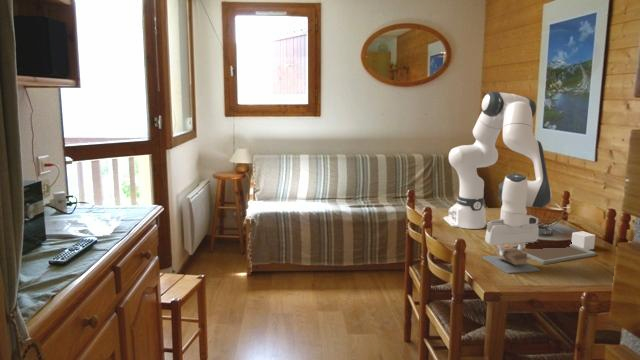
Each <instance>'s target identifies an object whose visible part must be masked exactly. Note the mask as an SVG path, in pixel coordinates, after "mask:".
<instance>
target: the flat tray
mask: <svg viewBox="0 0 640 360" xmlns="http://www.w3.org/2000/svg"><path fill="white" fill-rule="evenodd" d="M510 246H511V247H512V248H515V249H516V248H518V246H519V244H516V245H510ZM569 246H570V247H566V248H543V249H524V248H523V249H522V252H524V253H526V254H527V259H528V258H530V260H532V261H534V260H535V261H534V262H537V263H539V264H542V265H546V264H553V263H559V262H565V261H571V260H577V259H581V258H582V259H583V258H588V257H594V256H597V252H595V251H593V250H591V249H590V250H587V249H584V248H581V247H578V246H575V245H573V244H571V243H570V245H569ZM526 250H527V251H526Z"/></svg>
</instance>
